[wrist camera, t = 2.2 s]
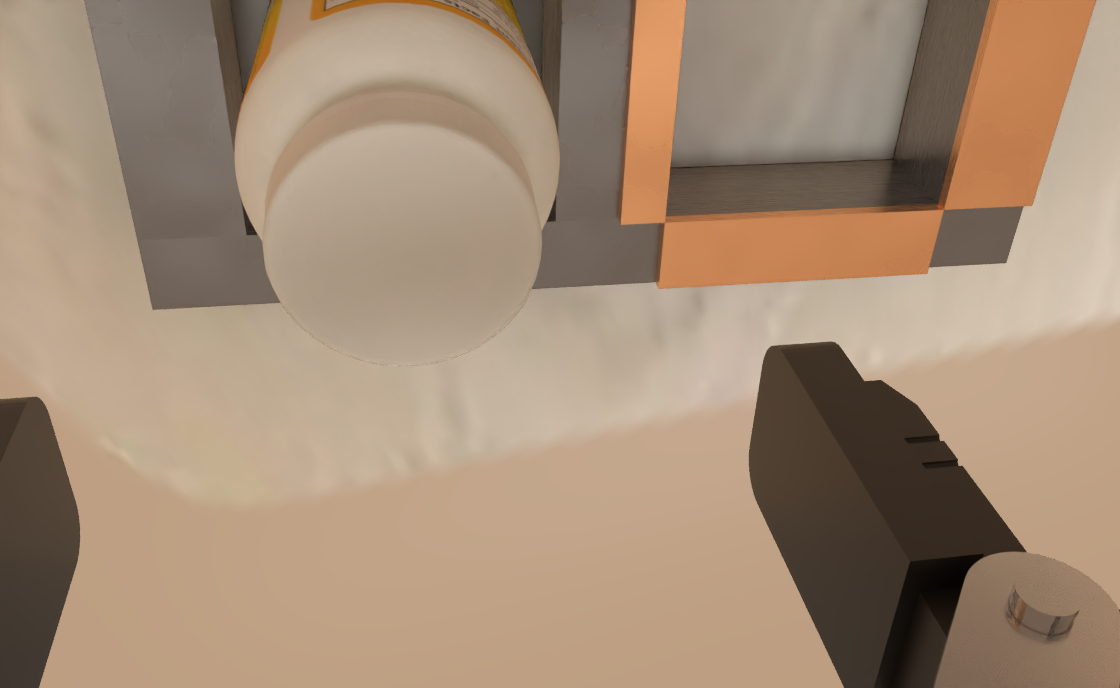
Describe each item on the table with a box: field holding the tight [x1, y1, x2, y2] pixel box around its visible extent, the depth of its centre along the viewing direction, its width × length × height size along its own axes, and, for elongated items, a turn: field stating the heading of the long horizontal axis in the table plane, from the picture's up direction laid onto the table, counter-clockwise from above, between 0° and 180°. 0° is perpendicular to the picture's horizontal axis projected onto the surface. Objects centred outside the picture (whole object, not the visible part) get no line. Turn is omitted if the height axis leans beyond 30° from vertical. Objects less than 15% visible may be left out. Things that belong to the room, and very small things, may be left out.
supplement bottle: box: [234, 0, 560, 366], centre depth 19 cm, size 5×5×10 cm
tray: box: [84, 0, 1096, 310], centre depth 22 cm, size 10×20×3 cm, turn 89°
